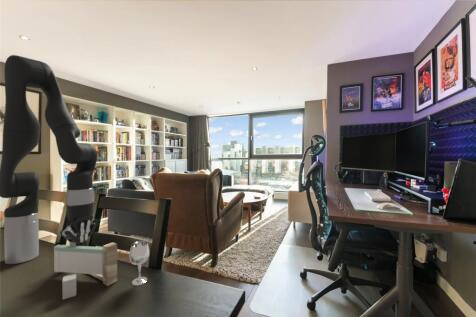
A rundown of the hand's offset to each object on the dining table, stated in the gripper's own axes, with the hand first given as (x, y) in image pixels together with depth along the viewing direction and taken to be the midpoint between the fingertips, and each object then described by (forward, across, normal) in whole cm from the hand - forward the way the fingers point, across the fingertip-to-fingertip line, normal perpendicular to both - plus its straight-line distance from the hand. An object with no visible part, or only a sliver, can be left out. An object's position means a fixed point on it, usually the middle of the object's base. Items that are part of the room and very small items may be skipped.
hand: (81, 251), depth 73 cm
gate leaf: (+5, +3, +3) cm, 7 cm away
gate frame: (+7, 0, +4) cm, 8 cm away
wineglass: (+7, +1, +23) cm, 24 cm away
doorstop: (+7, +11, +7) cm, 15 cm away
